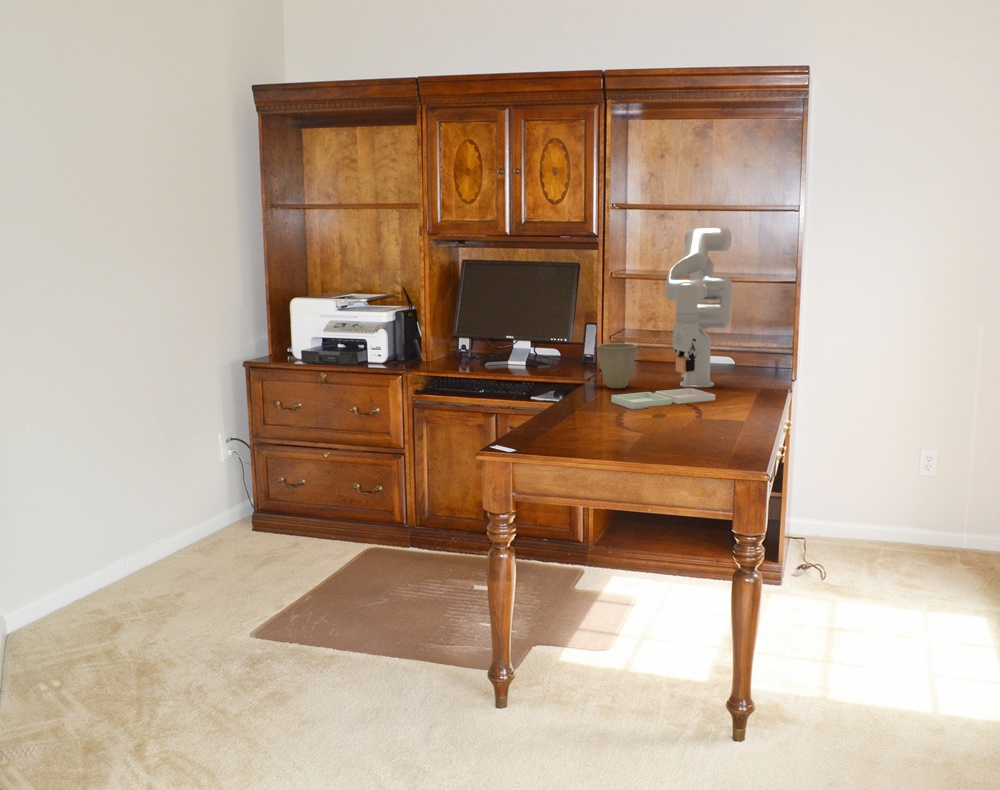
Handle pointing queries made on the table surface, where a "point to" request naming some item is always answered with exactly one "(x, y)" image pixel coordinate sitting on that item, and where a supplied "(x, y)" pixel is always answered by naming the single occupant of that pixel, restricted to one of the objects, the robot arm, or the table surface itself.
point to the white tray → (686, 395)
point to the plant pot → (616, 363)
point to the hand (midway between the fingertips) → (685, 369)
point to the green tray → (640, 400)
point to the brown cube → (682, 365)
